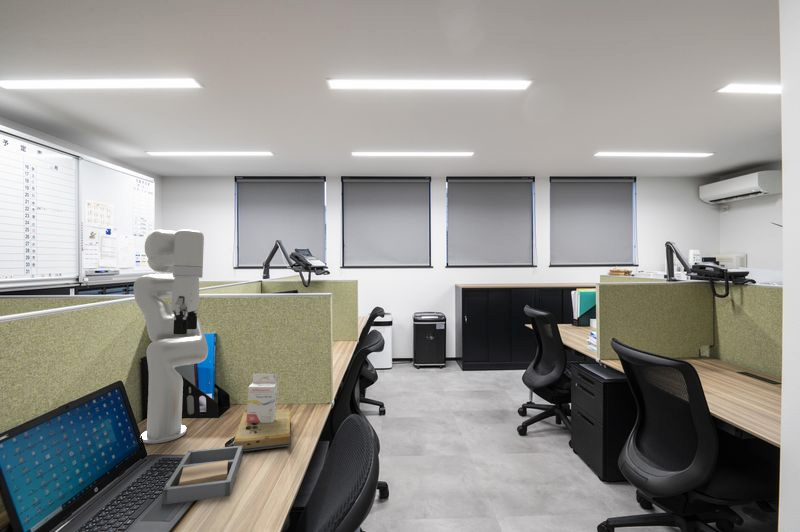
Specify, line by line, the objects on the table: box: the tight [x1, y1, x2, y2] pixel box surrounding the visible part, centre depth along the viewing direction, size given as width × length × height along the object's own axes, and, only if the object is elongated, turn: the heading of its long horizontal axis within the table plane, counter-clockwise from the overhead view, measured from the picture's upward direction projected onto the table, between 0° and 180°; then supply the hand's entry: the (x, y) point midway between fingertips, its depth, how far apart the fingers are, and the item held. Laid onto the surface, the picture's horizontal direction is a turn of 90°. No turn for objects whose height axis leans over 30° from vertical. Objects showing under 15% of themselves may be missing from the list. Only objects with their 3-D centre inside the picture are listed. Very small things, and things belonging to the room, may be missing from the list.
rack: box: [161, 445, 243, 506], centre depth 92 cm, size 19×14×4 cm
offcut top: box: [178, 460, 228, 486], centre depth 88 cm, size 7×10×2 cm
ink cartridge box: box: [246, 373, 278, 423], centre depth 118 cm, size 9×5×15 cm, turn 97°
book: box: [233, 406, 292, 453], centre depth 118 cm, size 25×17×6 cm
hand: (185, 331), depth 104 cm, fingers open, 9 cm apart
